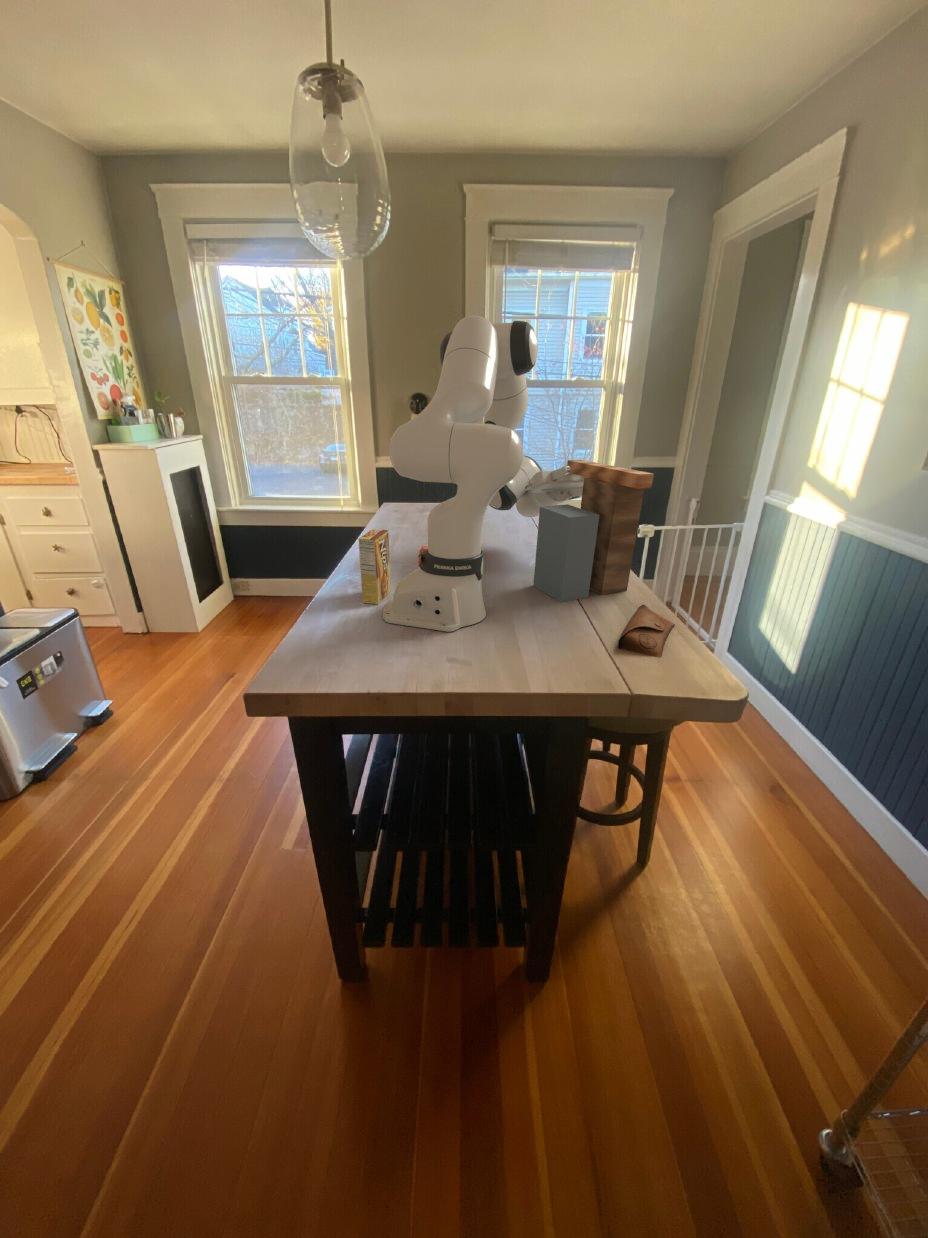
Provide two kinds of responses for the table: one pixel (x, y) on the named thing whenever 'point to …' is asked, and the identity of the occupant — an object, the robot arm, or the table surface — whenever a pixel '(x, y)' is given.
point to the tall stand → (612, 532)
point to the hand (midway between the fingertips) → (583, 468)
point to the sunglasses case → (645, 633)
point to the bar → (611, 474)
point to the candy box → (374, 565)
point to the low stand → (565, 551)
